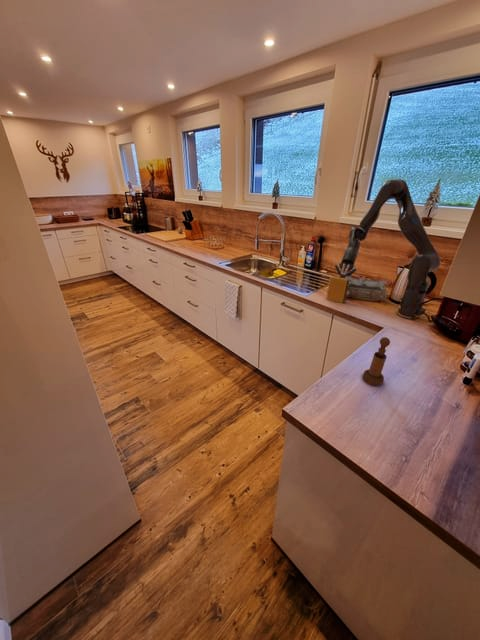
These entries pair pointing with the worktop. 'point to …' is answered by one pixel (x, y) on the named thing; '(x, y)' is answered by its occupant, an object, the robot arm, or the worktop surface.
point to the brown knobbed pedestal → (377, 365)
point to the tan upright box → (337, 289)
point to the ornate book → (366, 289)
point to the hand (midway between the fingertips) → (341, 281)
